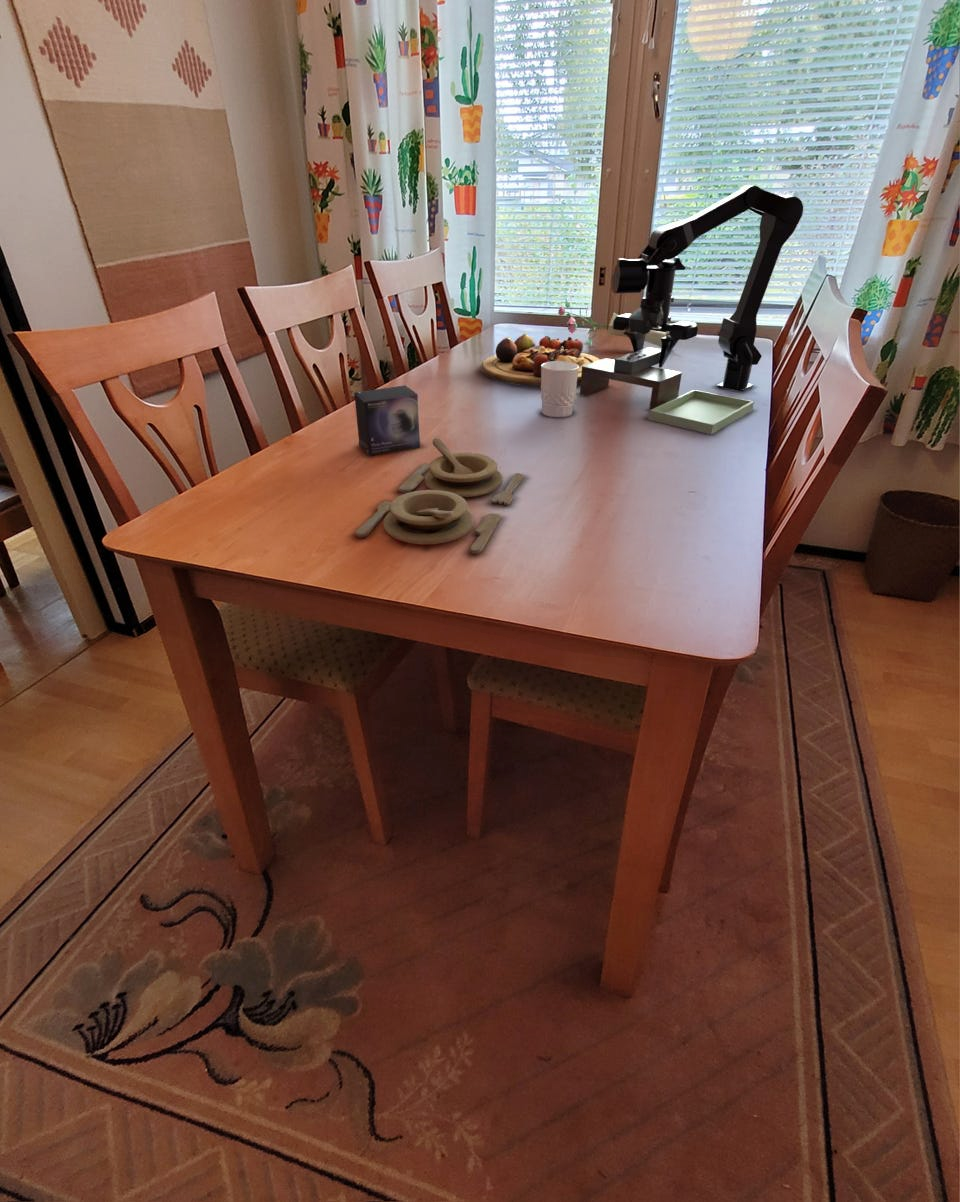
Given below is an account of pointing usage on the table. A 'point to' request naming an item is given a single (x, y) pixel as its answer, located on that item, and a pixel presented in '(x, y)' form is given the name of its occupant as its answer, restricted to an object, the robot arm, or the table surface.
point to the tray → (701, 411)
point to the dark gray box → (637, 360)
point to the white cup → (558, 388)
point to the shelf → (632, 380)
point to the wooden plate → (532, 359)
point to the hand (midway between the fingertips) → (649, 365)
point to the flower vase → (609, 328)
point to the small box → (387, 419)
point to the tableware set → (443, 500)
